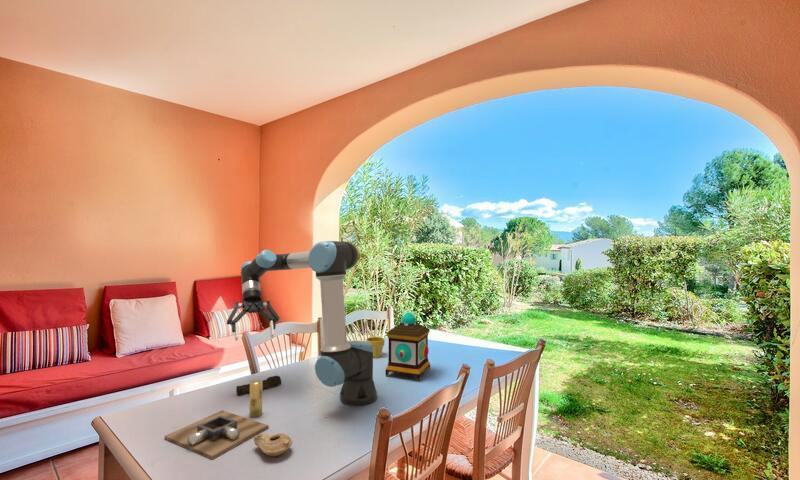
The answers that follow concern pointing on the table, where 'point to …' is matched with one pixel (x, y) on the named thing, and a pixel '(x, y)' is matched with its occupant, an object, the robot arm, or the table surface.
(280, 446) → the pottery oil lamp
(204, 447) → the mounting board
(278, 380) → the hand tool
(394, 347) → the decorative lantern
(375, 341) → the plant pot
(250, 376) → the table surface
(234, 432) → the socket housing
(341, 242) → the robot arm
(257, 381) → the cylinder
